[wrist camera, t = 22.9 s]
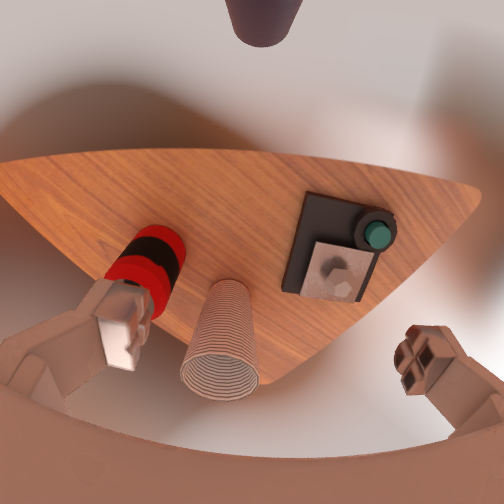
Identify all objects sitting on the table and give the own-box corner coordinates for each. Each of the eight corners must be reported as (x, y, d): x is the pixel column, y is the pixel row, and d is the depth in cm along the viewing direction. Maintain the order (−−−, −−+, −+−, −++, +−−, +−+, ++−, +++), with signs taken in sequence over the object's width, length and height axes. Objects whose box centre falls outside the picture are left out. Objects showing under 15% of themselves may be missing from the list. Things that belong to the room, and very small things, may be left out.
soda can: (191, 233, 38) (168, 284, 28) (180, 279, 42) (158, 337, 31) (138, 217, 37) (99, 261, 27) (131, 264, 41) (97, 315, 30)
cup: (253, 266, 41) (252, 350, 27) (262, 314, 44) (265, 399, 31) (193, 274, 41) (168, 356, 28) (208, 321, 45) (193, 403, 31)
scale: (307, 187, 36) (311, 194, 33) (393, 208, 36) (403, 216, 34) (281, 286, 42) (282, 298, 39) (359, 297, 43) (365, 309, 40)
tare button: (368, 218, 34) (373, 224, 33) (389, 223, 35) (394, 229, 33) (361, 240, 36) (365, 246, 34) (381, 244, 36) (386, 250, 34)
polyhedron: (316, 280, 38) (320, 295, 35) (332, 257, 36) (338, 271, 33) (340, 291, 38) (346, 306, 36) (356, 269, 37) (364, 283, 34)
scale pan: (315, 240, 35) (316, 242, 35) (373, 251, 36) (374, 253, 36) (299, 294, 39) (299, 296, 39) (353, 301, 40) (353, 303, 39)
